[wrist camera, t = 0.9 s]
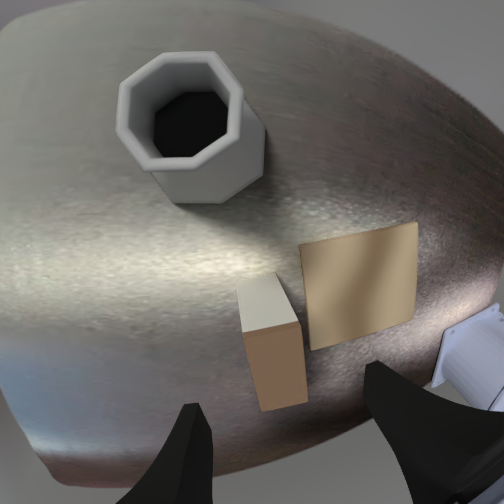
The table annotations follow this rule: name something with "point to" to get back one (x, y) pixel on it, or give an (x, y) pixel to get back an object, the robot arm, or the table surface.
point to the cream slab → (272, 342)
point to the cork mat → (359, 283)
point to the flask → (191, 127)
